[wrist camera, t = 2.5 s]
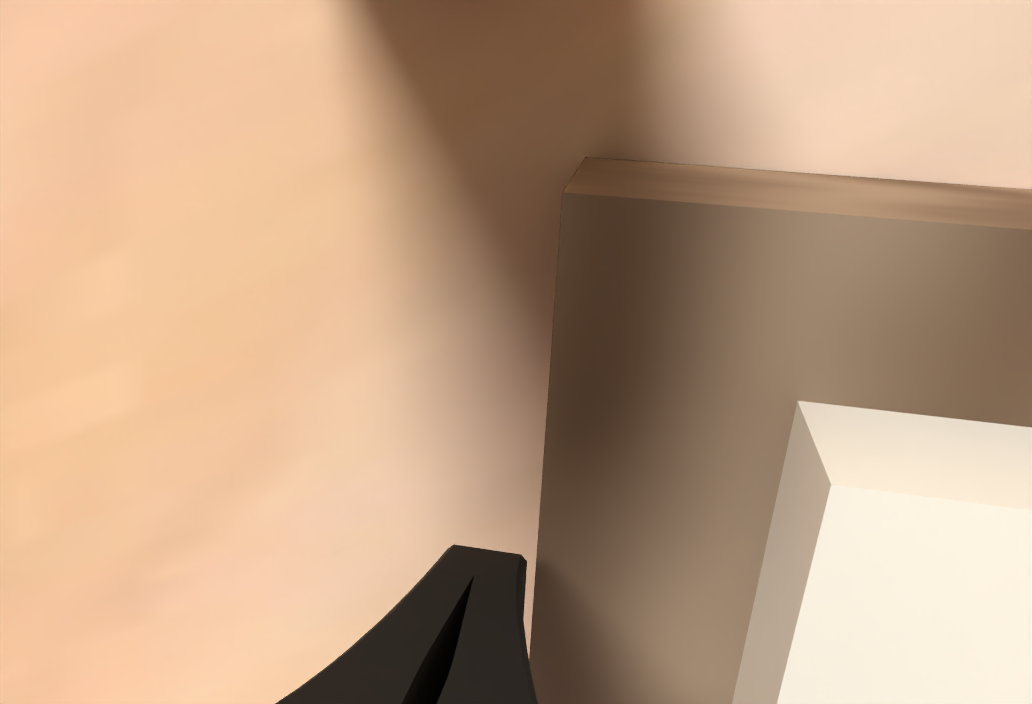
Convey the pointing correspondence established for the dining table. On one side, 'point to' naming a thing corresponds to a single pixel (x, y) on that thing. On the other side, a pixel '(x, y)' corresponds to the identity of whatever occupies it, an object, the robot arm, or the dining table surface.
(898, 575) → the tile
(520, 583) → the robot arm
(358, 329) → the dining table surface
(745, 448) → the brown flat block
